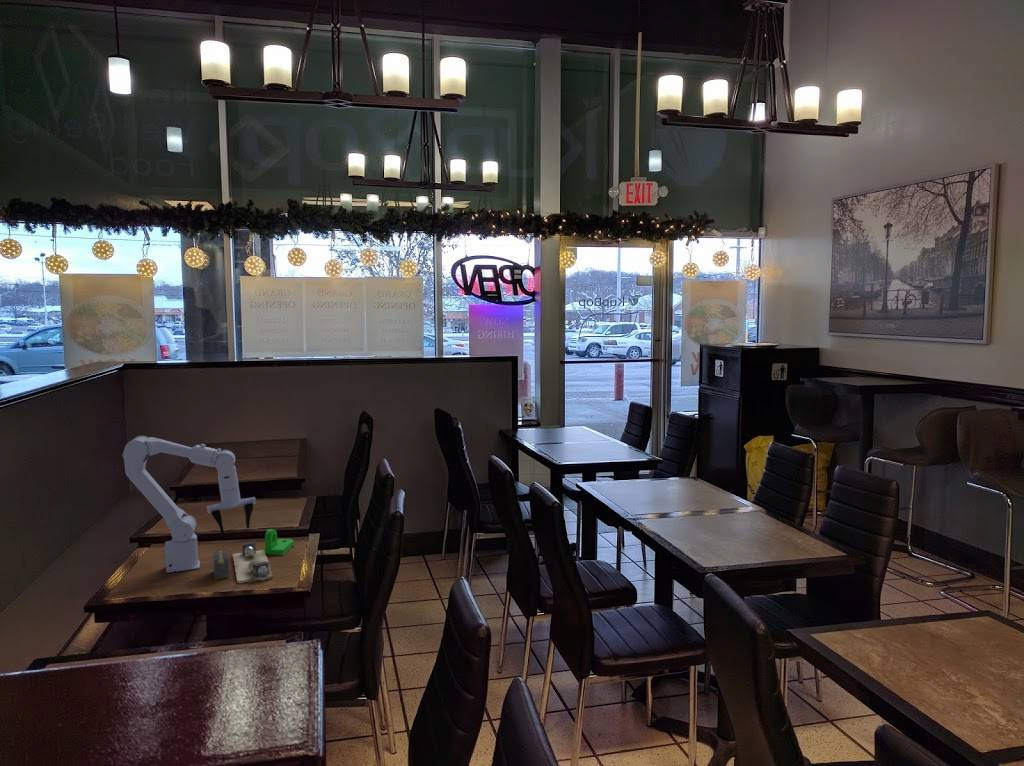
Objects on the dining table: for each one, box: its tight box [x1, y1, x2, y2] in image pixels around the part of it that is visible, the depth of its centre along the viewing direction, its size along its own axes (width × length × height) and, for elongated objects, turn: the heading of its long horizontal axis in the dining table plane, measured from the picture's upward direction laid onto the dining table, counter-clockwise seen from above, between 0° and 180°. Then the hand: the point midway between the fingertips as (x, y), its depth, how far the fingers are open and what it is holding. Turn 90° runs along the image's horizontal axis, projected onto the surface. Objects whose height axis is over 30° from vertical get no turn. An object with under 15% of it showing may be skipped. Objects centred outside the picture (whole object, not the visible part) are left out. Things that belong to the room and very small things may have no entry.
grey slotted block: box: [212, 550, 230, 580], centre depth 226 cm, size 4×9×6 cm, turn 23°
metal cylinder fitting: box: [241, 541, 257, 559], centre depth 242 cm, size 8×4×4 cm, turn 23°
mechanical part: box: [264, 528, 294, 555], centre depth 250 cm, size 12×6×8 cm, turn 177°
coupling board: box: [232, 549, 274, 584], centre depth 233 cm, size 10×28×1 cm, turn 23°
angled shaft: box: [248, 561, 270, 577], centre depth 224 cm, size 8×4×4 cm, turn 43°
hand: (235, 530), depth 237 cm, fingers open, 7 cm apart
